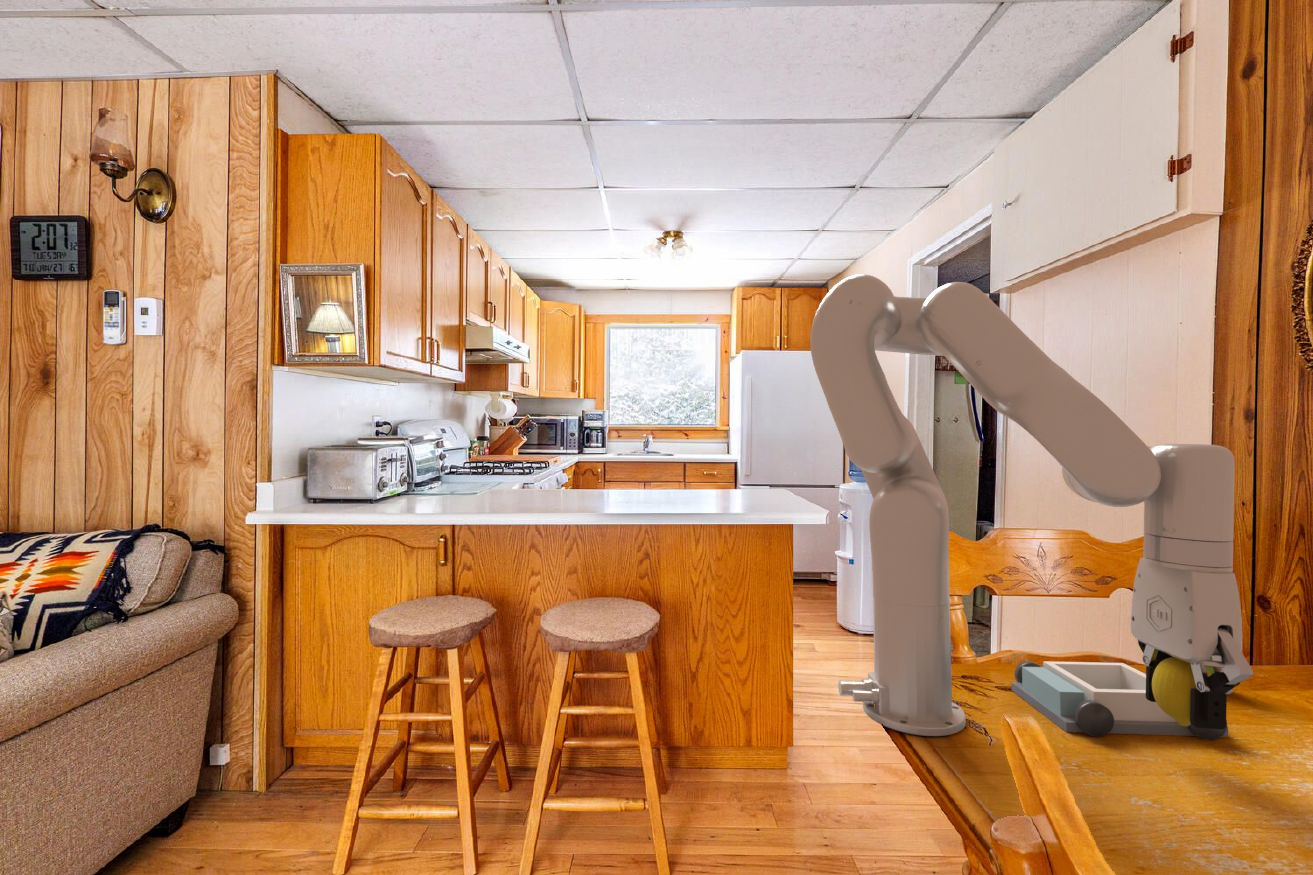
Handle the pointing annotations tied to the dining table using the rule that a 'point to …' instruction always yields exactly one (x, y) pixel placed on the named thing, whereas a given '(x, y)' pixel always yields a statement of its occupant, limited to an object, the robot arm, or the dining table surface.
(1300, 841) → the dining table surface
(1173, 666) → the lemon
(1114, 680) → the chassis
